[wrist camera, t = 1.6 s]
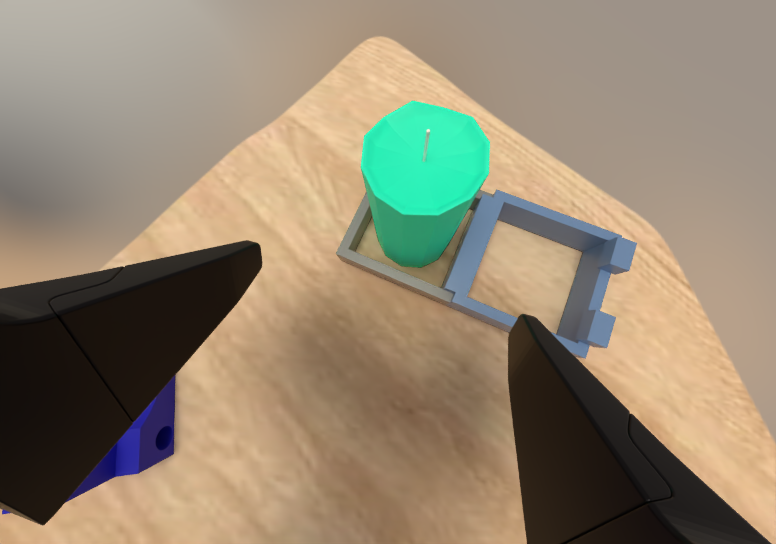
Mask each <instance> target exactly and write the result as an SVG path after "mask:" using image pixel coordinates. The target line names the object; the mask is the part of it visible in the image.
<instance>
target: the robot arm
mask: <svg viewBox="0 0 776 544" xmlns="http://www.w3.org/2000/svg"><path fill="white" fill-rule="evenodd" d="M261 268H262V256H261V247H260V245H259V244H258V243H256V242H252V241H248V240H246V241H241V242H236V243H232V244H227V245H222V246H217V247H213V248H208V249H203V250H198V251H194V252H189V253H184V254H179V255H175V256H170V257H165V258H160V259H156V260H151V261H146V262H141V263H137V264H132V265H127V266H125V267H117V268H113V269H108V270H103V271H98V272H93V273H88V274H83V275H77V276H72V277H66V278H61V279H55V280H49V281H43V282H37V283H31V284H25V285H19V286H14V287H8V288H2V289H0V509H3V510H5V511H8V512H10V513H13V514H15V515H18V516H20V517H23V518H25V519H28V520H30V521H33V522H35V523H38V524H40V525H45V524H46V523H47V522H48V521H49V520H50V519H51V518H52V517H53V516H54V515H55V513H56V512H57V511H58V510H59V509H60V508H61V507H62V505H63V504H64V503H65V502H66V501H67V500H68V499H69V497H70V496H71V495H72V494H73V493H74V492H75V490H76V489H77V488H78V487H79V486H80V485H81V483H82V482H83V481H84V480H85V479H86V478H87V477H88V475H89V474H90V473H91V472H92V471H93V470H94V468H95V467H96V466H97V465H98V464H99V463H100V462H101V460H102V459H103V458H104V457H105V456H106V455H107V453H108V452H109V451H110V450H111V449H112V448H113V446H114V445H115V444H116V443H117V442H118V441H119V440H120V438H121V437H122V436H123V435H124V434H125V433H126V431H127V430H128V429H129V428H130V427H131V426H132V425H133V422H135V421H136V420H137V419H138V417H139V416H140V415H141V414H142V413H143V412H144V410H145V409H146V408H147V407H148V406H149V405H150V403H151V402H152V401H153V400H154V399H155V398H156V397H157V395H158V394H159V393H160V392H161V391H162V390H163V388H164V387H165V386H166V385H167V384H168V383H169V382H170V380H171V379H172V378H173V377H174V376H175V375H176V373H177V372H178V371H179V370H180V369H181V368H182V367H183V365H184V364H185V363H186V362H187V361H188V360H189V358H190V357H191V356H192V355H193V354H194V353H195V352H196V350H197V349H198V348H199V347H200V346H201V345H202V343H203V342H204V341H205V340H206V339H207V338H208V337H209V335H210V334H211V333H212V332H213V331H214V330H215V328H216V327H217V326H218V325H219V324H220V323H221V321H222V320H223V319H224V318H225V317H226V316H227V315H228V313H229V312H230V311H231V310H232V309H233V308H234V306H235V305H236V304H237V303H238V301H239V300H240V299H241V297H242V296H243V295H244V293H245V292H246V290H247V289H248V287H249V286H250V284H251V283H252V282H253V280H254V279H255V277H256V276H257V274H258V273H259V271H260V270H261ZM508 384H509V393H510V402H511V411H512V419H513V428H514V436H515V445H516V453H517V462H518V470H519V479H520V487H521V496H522V504H523V513H524V521H525V530H526V539H527V544H771V543H770V542H769V541H768V540H767V539H766V538H764V537H763V536H762V535H761V534H760V533H759V532H758V531H757V530H756V529H755V528H753V527H752V526H751V525H750V524H749V523H748V522H747V521H746V520H745V519H744V518H743V517H741V516H740V515H739V514H738V513H737V512H736V511H735V510H734V509H733V508H732V507H730V506H729V505H728V504H727V503H726V502H725V501H724V500H723V499H722V498H721V497H719V496H718V495H717V494H716V493H715V492H714V491H713V490H712V489H711V488H710V487H708V486H707V485H706V484H705V483H704V482H703V481H702V480H701V479H700V478H699V477H697V476H696V475H695V474H694V473H693V472H692V471H691V470H690V469H689V468H688V467H687V466H686V465H684V464H683V463H682V462H681V461H680V460H679V459H678V458H677V457H676V456H675V455H674V454H673V453H671V452H670V451H669V450H668V449H667V448H666V447H665V446H664V445H663V444H662V443H661V442H660V441H659V440H658V439H657V438H656V437H655V436H654V435H653V434H652V433H651V432H650V431H649V430H648V429H647V428H646V427H645V426H644V425H643V424H642V423H641V422H640V421H639V420H638V419H637V418H636V417H635V416H634V415H633V414H630V412H629V410H628V409H627V408H626V407H625V406H624V405H623V404H622V403H621V402H620V401H619V400H618V399H617V398H616V397H615V396H614V395H613V394H612V393H611V392H610V391H609V390H608V389H607V388H606V387H605V386H604V385H603V384H602V383H601V382H600V381H599V380H598V379H597V378H596V377H595V376H594V375H593V374H592V373H591V372H590V371H589V370H588V369H587V368H586V367H585V366H584V365H583V364H582V363H581V362H580V361H579V360H578V359H577V358H576V357H575V356H574V355H573V354H572V353H571V352H570V351H569V350H568V349H567V348H566V347H565V346H564V345H563V344H562V343H561V342H560V341H559V340H558V339H557V338H556V337H555V336H554V335H553V334H552V333H551V332H550V331H549V330H548V329H547V328H546V327H545V326H544V325H543V324H542V323H541V322H540V321H539V320H538V319H537V318H536V317H534V316H530V315H526V314H521V315H520V316H519V317H518V319H517V320H516V322H515V324H514V325H513V327H512V329H511V330H510V333H509V337H508Z"/></svg>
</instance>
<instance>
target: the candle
mask: <svg viewBox="0 0 776 544" xmlns="http://www.w3.org/2000/svg"><path fill="white" fill-rule="evenodd" d="M489 153H490V142H489V140H488V139H487V137H486V136H485V134H484V133H483V131H482V130H481V128H480V127H479V125H478V124H477V122H476V121H475V119H474V118H473V117H471V116H468V115H465V114H462V113H459V112H456V111H453V110H450V109H447V108H444V107H439V106H435V105H430V104H426V103H421V102H417V101H411V102H409V103H408V104H406V105H404V106H402V107H401V108H399V109H397V110H395V111H394V112H392V113H390V114H388V115H387V116H385V117H383V118H382V119H381V120H380V121H379V122H378V123H377V124H376V125H375V126H374V127H373V128H372V129H371V130H370V131H369V132H368V133H367V134H366V135H365V136H364V142H363V151H362V161H361V170H362V174H363V178H364V183H365V187H366V191H367V195H368V200H369V204H370V208H371V212H372V216H373V221H374V225H375V229H376V233H377V238H378V241H379V243H380V245H381V247H382V249H383V251H384V253H385V255H386V256H387V257H388V258H390V259H391V260H393V261H394V262H396V263H397V264H399V265H400V266H405V267H418V268H421V267H423V266H425V265H427V264H430V263H432V262H434V261H436V260H438V259H439V257H440V256H441V254H442V253H443V252H444V250H445V249H446V247H447V246H448V244H449V242H450V241H451V239H452V237H453V235H454V234H455V232H456V230H457V228H458V227H459V225H460V223H461V221H462V220H463V218H464V216H465V214H466V213H467V211H468V209H469V207H470V206H471V204H472V202H473V200H474V199H475V197H476V195H477V193H478V192H479V190H480V188H481V186H482V185H483V183H484V181H485V179H486V178H487V176H488V174H489Z"/></svg>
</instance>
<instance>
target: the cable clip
mask: <svg viewBox="0 0 776 544" xmlns="http://www.w3.org/2000/svg"><path fill="white" fill-rule="evenodd" d="M174 412H175V376H174V377H173V378H172V379H171V380H170V382H169V383H168V384H167V385H166V386H165V387H164V388H163V390H162V391H161V392H160V393H159V394H158V395H157V397H156V398H155V399H154V400H153V401H152V402H151V403H150V405H149V406H148V407H147V408H146V409H145V410H144V412H143V413H142V414H141V415H140V416H139V417H138V419H137V420H136V421H135V422H133V425H132V426H131V427H130V428H129V429H128V430H127V431H126V433H125V434H124V435H123V436H122V437H121V438H120V440H119V441H118V442H117V443H116V444H115V445H114V446H113V448H112V449H111V450H110V451H109V452H108V453H107V455H106V456H105V457H104V458H103V459H102V460H101V462H100V463H99V464H98V465H97V466H96V467H95V468H94V470H93V471H92V472H91V473H90V474H89V475H88V477H87V478H86V479H85V480H84V481H83V482H82V483H81V485H80V486H79V487H78V488H77V489H76V490H75V492H74V493H73V494H72V495H71V496H70V497H69V499H68V500H67V501H69V500H71V499H73V498H75V497H77V496H79V495H81V494H83V493H85V492H87V491H88V490H90V489H92V488H94V487H96V486H98V485H100V484H102V483H104V482H106V481H108V480H110V479H112V478H114V477H117V476H124V475H131V474H138V473H140V472H142V471H144V470H146V469H147V468H149V467H151V466H153V465H155V464H157V463H158V462H160V461H162V460H164V459H166V458H167V457H169V456H171V455H173V454H174ZM67 501H66V502H67ZM7 513H10V512H8V511H5V510H2V514H7Z"/></svg>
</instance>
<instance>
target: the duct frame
mask: <svg viewBox="0 0 776 544" xmlns="http://www.w3.org/2000/svg"><path fill="white" fill-rule="evenodd" d="M469 209H472V210H473V212H472V214H471V217H470V219H469V221H468V224H467V226H466V229H465V231H464V234H463V236H462V239H461V241H460V243H459V246H458V248H457V251H456V253H455V256H454V258H453V260H452V263H451V265H450V268H449V270H448V273H447V275H446V278H445V280H444V282H443V285H442V287H441V288H439V287H437V286H434V285H432V284H430V283H427V282H425V281H423V280H420V279H418V278H416V277H413V276H411V275H408V274H406V273H404V272H401V271H399V270H397V269H394V268H392V267H390V266H387V265H385V264H383V263H380V262H378V261H375V260H373V259H371V258H368V257H366V256H364V255H361V254H359V253H357V252H355V250H356V248H357V246H358V244H359V242H360V240H361V238H362V236H363V233H364V231H365V229H366V227H367V225H368V223H369V221H370V219H371V217H372V212H371V208H370V204H369V200H368V195H367V192H366V194H365V196H364V198H363V200H362V202H361V204H360V206H359V208H358V210H357V212H356V214H355V216H354V218H353V220H352V222H351V224H350V226H349V228H348V230H347V232H346V234H345V236H344V238H343V240H342V242H341V244H340V246H339V248H338V250H337V252H336V254H337V256H338V257H339V258H340V259H341V260H342V261H344V262H346V263H349V264H351V265H353V266H356V267H358V268H360V269H363V270H365V271H367V272H370V273H372V274H374V275H377V276H379V277H381V278H384V279H386V280H388V281H391V282H393V283H395V284H398V285H400V286H402V287H405V288H407V289H409V290H412V291H414V292H416V293H418V294H421V295H423V296H425V297H428V298H430V299H432V300H435V301H437V302H439V303H442V304H444V305H446V306H449V307H451V308H453V309H456V310H458V311H460V312H463V313H465V314H467V315H470V316H472V317H474V318H477V319H479V320H481V321H484V322H486V323H488V324H491V325H493V326H495V327H497V328H500V329H502V330H504V331H507V332H509V333H510V330H511V329H512V327H513V325H514V324H515V322H516V320H517V319H518V318H516V317H514V316H511V315H509V314H506V313H504V312H502V311H499V310H497V309H495V308H492V307H490V306H488V305H485V304H483V303H480V302H478V301H476V300H473V299H471V298H469V297H467V295H468V293H469V290H470V288H471V285H472V283H473V280H474V277H475V275H476V272H477V270H478V267H479V265H480V262H481V259H482V257H483V254H484V252H485V249H486V247H487V244H488V242H489V239H490V236H491V234H492V231H493V229H494V226H495V224H496V221H497V219H498V220H501V221H503V222H506V223H509V224H511V225H514V226H516V227H519V228H522V229H524V230H527V231H530V232H532V233H535V234H537V235H540V236H543V237H545V238H548V239H551V240H553V241H556V242H558V243H561V244H564V245H566V246H569V247H571V248H574V249H577V250H579V251H582V252H583V254H582V257H581V260H580V263H579V266H578V269H577V273H576V276H575V279H574V282H573V285H572V288H571V291H570V294H569V297H568V301H567V304H566V307H565V310H564V313H563V316H562V319H561V322H560V326H559V329H558V332H557V335H556V334H554V333H552V334H553V335H554V336H555V337H556V338H557V339H558V340H559V341H560V342H561V343H562V344H563V345H564V346H565V347H566V348H567V349H568V350H569V351H570V352H571V353H572V354H573V355H574V356H575V357H579V358H585V359H586V356H587V352H588V349H589V345H590V346H592V347H600V348H607V347H608V343H609V340H610V336H611V333H612V329H613V326H614V322H615V319H616V317H614V316H611V315H609V314H606V313H604V312H601V311H600V308H601V305H602V302H603V298H604V295H605V292H606V288H607V285H608V281H609V278H610V275H611V273H612V274H619V273H623V272H627V271H629V269H630V266H631V262H632V259H633V255H634V252H635V248H636V245H637V243H635V242H632V241H630V240H627V239H624V238H622V236H621V235H619V234H616V233H613V232H610V231H608V230H605V229H602V228H600V227H597V226H594V225H591V224H589V223H586V222H583V221H581V220H578V219H575V218H572V217H570V216H567V215H564V214H562V213H559V212H556V211H553V210H551V209H548V208H545V207H543V206H540V205H537V204H534V203H532V202H529V201H526V200H524V199H521V198H518V197H515V196H513V195H510V194H507V193H505V192H502V191H499V190H496V191H495V193H494V194H493V195H492V194H490V193H487V192H484V191H482V190H479V192H478V193H477V195H476V197H475V199H474V200H473V202H472V204H471V206H470V207H469Z"/></svg>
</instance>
